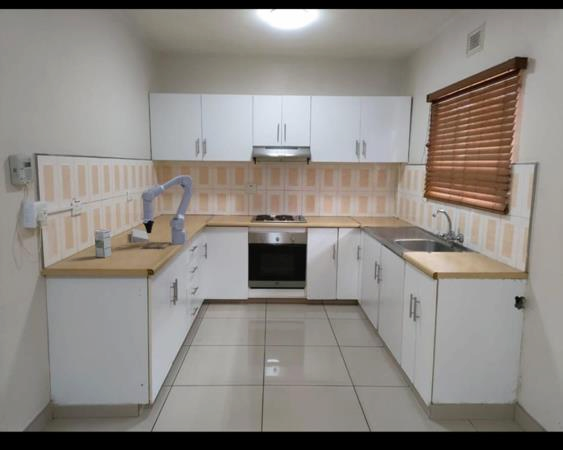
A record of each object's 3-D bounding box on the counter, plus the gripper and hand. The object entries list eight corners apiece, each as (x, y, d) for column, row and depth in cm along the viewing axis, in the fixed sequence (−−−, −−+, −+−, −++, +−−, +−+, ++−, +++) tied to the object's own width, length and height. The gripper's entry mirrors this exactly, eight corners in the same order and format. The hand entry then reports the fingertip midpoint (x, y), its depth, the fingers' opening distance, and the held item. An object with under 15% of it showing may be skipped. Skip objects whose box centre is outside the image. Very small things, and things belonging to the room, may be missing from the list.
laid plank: (170, 244, 248) (170, 242, 248) (164, 248, 234) (164, 246, 234) (160, 244, 248) (160, 242, 248) (153, 248, 234) (153, 246, 234)
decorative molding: (144, 237, 288) (130, 234, 284) (146, 231, 288) (132, 228, 284) (147, 246, 257) (131, 243, 253) (149, 239, 257) (133, 236, 253)
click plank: (160, 244, 248) (159, 242, 248) (153, 248, 234) (153, 246, 234) (148, 244, 248) (148, 242, 248) (141, 248, 234) (141, 246, 234)
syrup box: (111, 255, 216) (110, 229, 214) (104, 258, 210) (103, 231, 208) (102, 255, 217) (101, 229, 215) (95, 257, 212) (93, 230, 210)
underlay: (171, 244, 249) (171, 244, 249) (164, 249, 233) (164, 249, 233) (148, 244, 249) (148, 243, 249) (140, 249, 233) (140, 249, 233)
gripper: (145, 209, 246) (145, 231, 248) (137, 212, 232) (138, 235, 234) (156, 209, 247) (157, 231, 249) (149, 212, 232) (150, 235, 234)
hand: (149, 233), depth 241 cm, fingers closed
